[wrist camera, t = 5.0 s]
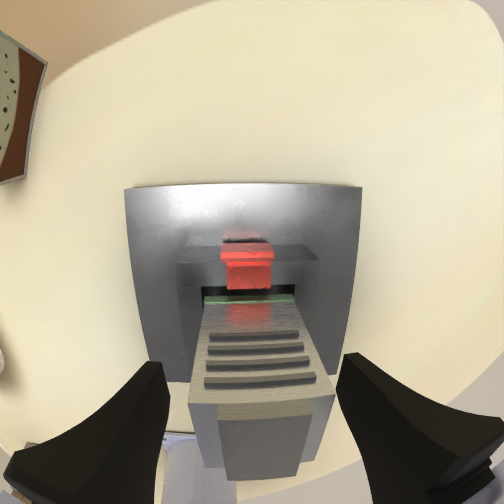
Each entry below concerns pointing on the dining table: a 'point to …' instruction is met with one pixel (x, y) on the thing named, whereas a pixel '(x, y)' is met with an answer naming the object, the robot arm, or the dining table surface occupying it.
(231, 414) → the block
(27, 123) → the food container
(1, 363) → the decorative vase
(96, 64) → the dining table surface
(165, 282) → the base
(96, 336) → the dining table surface
